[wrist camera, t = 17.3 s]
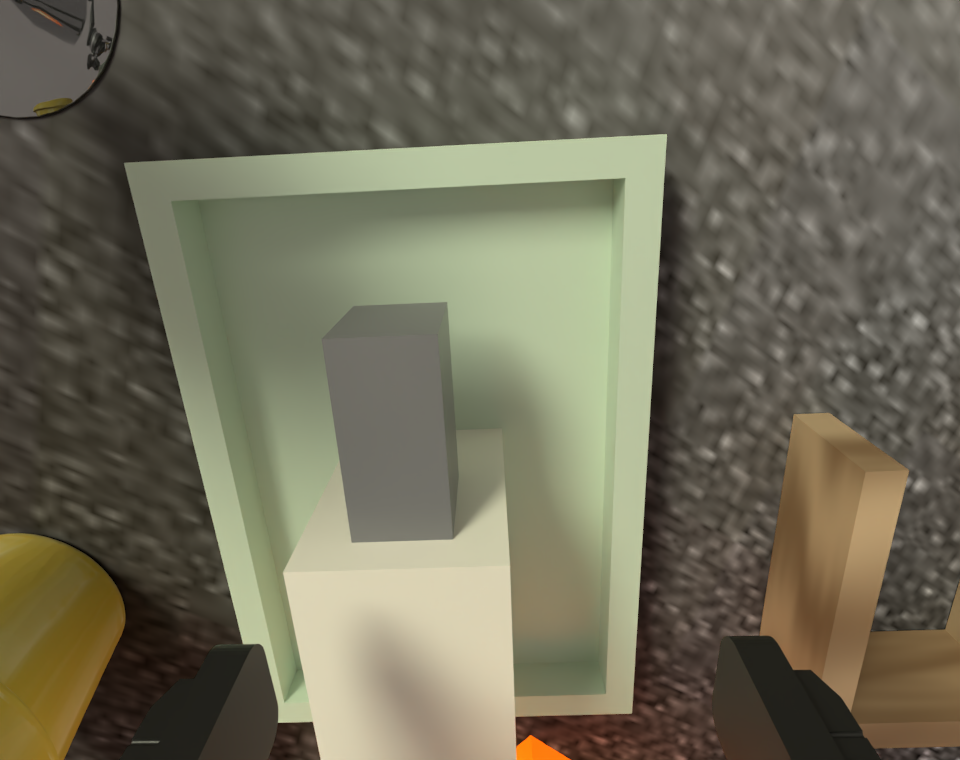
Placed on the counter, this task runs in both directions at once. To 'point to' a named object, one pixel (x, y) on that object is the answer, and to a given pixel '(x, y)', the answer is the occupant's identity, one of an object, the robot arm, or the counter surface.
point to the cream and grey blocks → (405, 556)
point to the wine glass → (52, 52)
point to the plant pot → (51, 642)
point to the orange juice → (536, 751)
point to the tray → (474, 358)
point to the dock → (855, 590)
